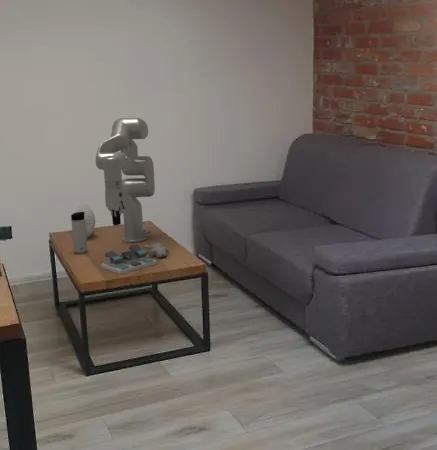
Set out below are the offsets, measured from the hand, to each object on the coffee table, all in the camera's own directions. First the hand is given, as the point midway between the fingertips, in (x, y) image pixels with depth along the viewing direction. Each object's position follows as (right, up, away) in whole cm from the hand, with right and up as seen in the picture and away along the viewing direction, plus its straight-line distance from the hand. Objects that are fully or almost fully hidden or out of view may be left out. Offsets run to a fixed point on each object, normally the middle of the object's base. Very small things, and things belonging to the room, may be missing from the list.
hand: (116, 224), depth 307 cm
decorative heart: (-24, -7, +55) cm, 61 cm away
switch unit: (+5, -18, +4) cm, 19 cm away
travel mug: (-21, -14, +27) cm, 37 cm away
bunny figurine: (+16, -15, +19) cm, 29 cm away
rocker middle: (+3, -13, +4) cm, 14 cm away
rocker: (-1, -15, 0) cm, 15 cm away
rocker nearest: (+8, -12, +8) cm, 17 cm away
